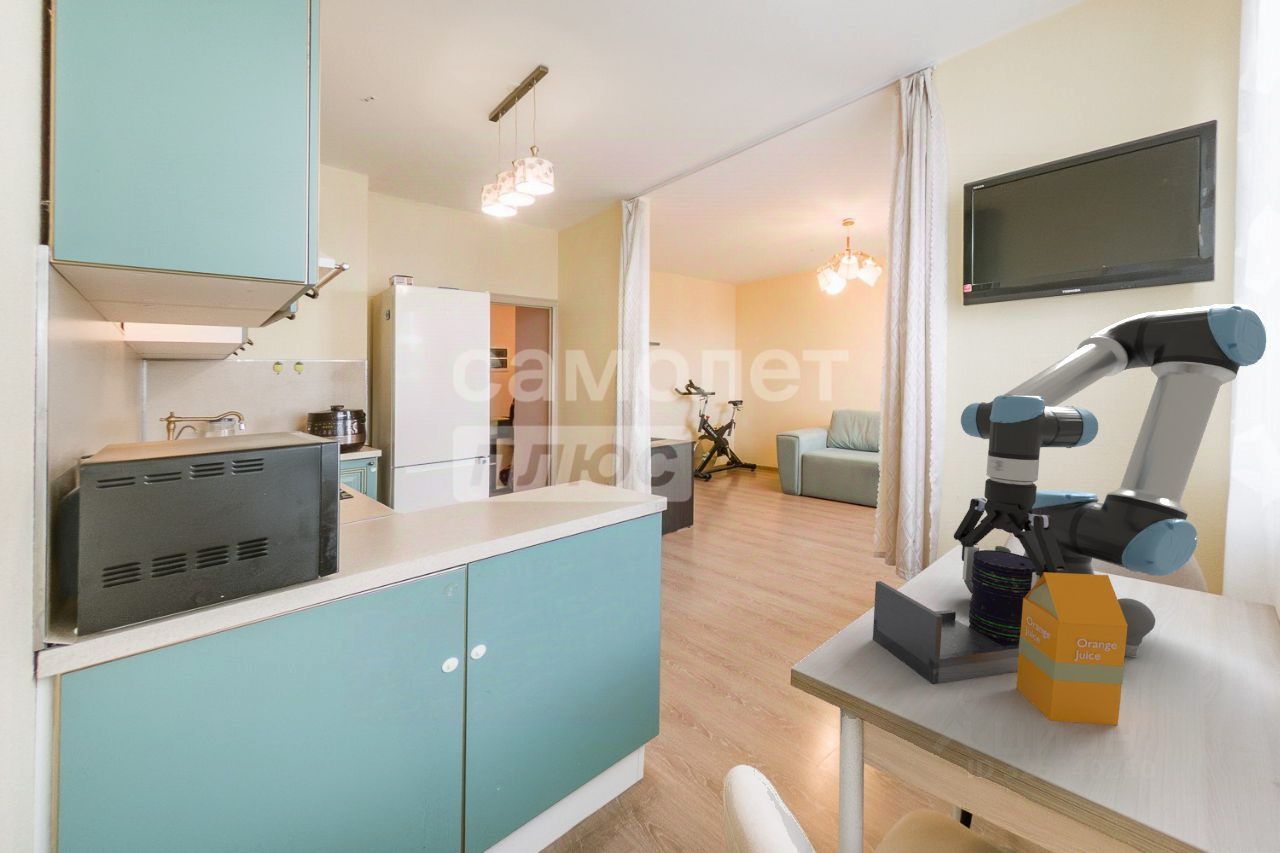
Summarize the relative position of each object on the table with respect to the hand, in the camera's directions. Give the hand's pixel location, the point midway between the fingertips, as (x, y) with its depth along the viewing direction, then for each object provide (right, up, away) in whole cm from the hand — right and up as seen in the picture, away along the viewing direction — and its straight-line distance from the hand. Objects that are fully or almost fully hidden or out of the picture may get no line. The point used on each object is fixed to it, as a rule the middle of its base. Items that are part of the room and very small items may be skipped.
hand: (1001, 593), depth 93 cm
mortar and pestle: (+8, -7, +15) cm, 19 cm away
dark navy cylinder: (0, -9, +1) cm, 9 cm away
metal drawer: (-14, -9, -5) cm, 18 cm away
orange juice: (-5, -10, -19) cm, 22 cm away
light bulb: (+18, -9, -5) cm, 21 cm away
